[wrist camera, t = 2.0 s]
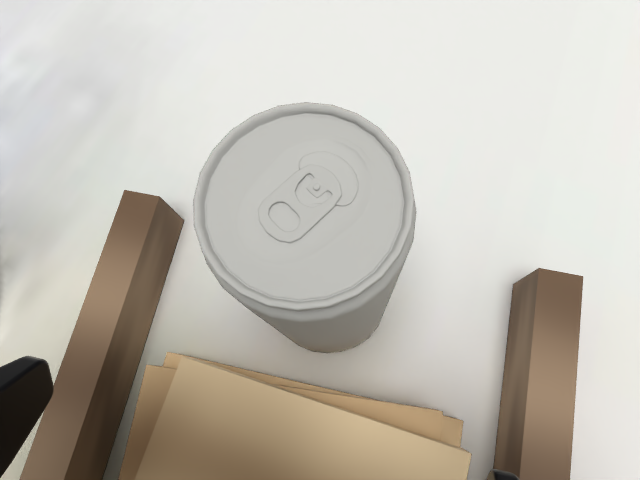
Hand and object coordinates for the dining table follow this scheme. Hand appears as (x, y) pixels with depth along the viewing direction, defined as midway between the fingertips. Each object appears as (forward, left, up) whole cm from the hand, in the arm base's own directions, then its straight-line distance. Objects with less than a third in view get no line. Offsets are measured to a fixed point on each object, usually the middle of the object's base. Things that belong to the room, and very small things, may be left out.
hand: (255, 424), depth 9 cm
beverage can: (+4, +2, -11) cm, 12 cm away
